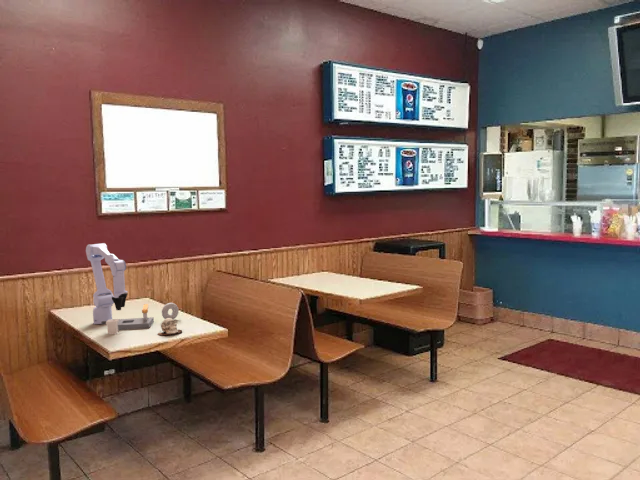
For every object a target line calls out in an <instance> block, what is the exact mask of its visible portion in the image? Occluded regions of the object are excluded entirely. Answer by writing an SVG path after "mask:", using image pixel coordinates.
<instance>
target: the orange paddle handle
mask: <svg viewBox="0 0 640 480" xmlns="http://www.w3.org/2000/svg"><path fill="white" fill-rule="evenodd" d="M148 312H149V303H146V304H143V307H142V309H141V313H142V314H143V313H147V314H148Z"/></svg>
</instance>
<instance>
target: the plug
mask: <svg viewBox="0 0 640 480" xmlns="http://www.w3.org/2000/svg"><path fill="white" fill-rule="evenodd" d="M119 319H120V318H117V319H116V318H114V319H113V318H112V319H111V320H108V321H102V322H101V324H100V325H104V324H105V323H106V324H105V325H106V327H107V328H106V329H107V335H115V334H116V335H117V334H118V333H119V330H118V322H119Z"/></svg>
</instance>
